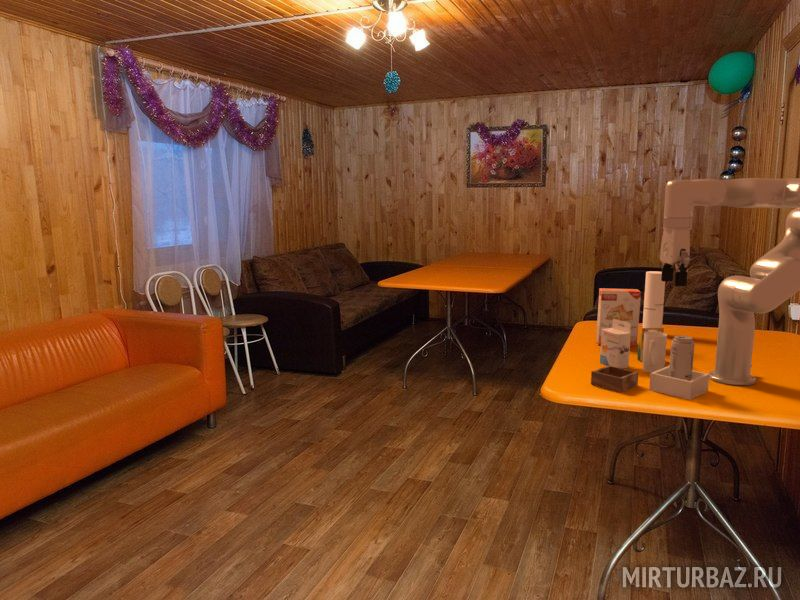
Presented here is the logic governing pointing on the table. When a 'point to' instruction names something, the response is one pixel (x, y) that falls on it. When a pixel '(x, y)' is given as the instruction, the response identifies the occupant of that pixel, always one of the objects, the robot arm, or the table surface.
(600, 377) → the walnut holder
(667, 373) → the grey bin
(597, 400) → the table surface
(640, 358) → the crayon box
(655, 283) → the cylindrical container
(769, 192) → the robot arm
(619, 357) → the ink box
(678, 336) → the energy drink can
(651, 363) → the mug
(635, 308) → the cracker box
